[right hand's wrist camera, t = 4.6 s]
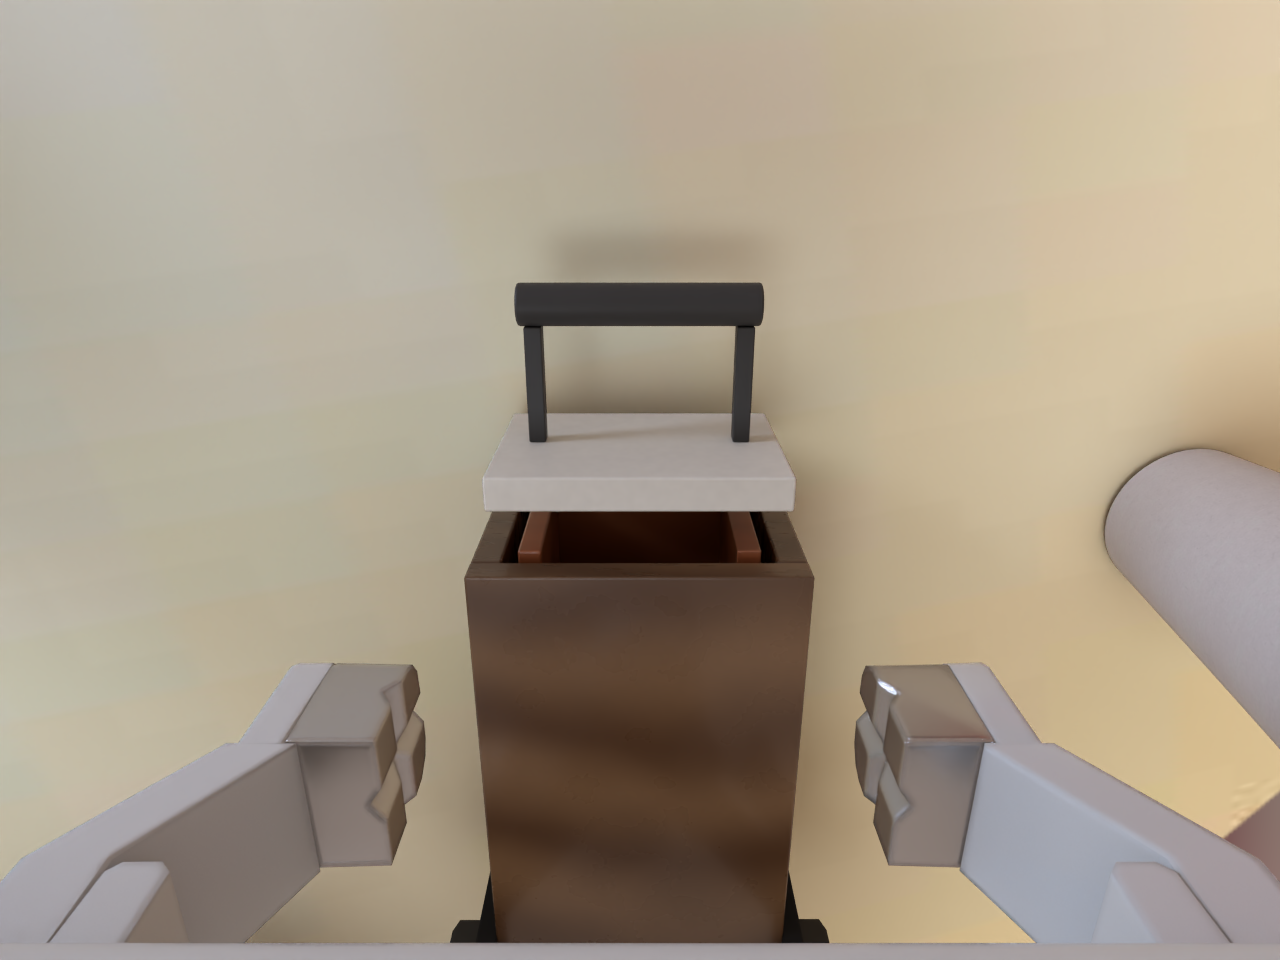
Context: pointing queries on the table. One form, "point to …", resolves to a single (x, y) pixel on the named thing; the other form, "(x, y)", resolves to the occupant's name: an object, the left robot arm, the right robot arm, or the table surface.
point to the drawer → (639, 443)
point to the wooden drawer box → (639, 739)
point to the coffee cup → (1209, 565)
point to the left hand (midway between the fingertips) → (639, 865)
